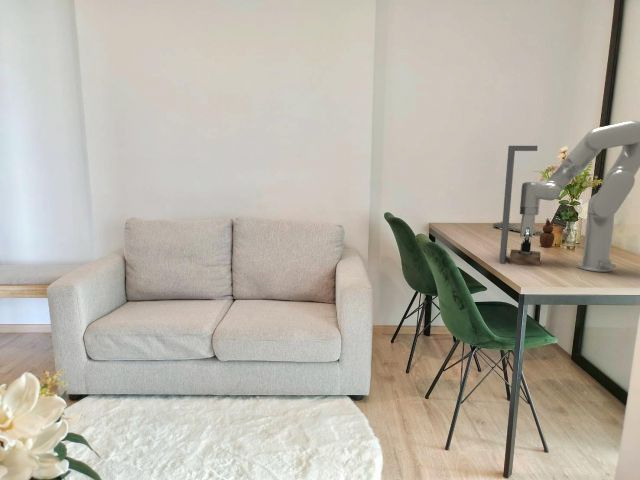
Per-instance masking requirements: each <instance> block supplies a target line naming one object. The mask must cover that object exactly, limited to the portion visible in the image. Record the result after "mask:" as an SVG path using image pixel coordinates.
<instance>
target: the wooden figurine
mask: <svg viewBox="0 0 640 480" xmlns="http://www.w3.org/2000/svg"><path fill="white" fill-rule="evenodd" d="M545 220H546V221H545V225H543V227H542V234H541V235H539V244H540V246H541V247H543V248H551V247H552V246H553V245H554V242H555V234H554V233H553V231H554V226H553V225H551V221H550V219H549V218H546V219H545Z"/></svg>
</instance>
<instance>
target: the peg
mask: <svg viewBox="0 0 640 480" xmlns="http://www.w3.org/2000/svg"><path fill="white" fill-rule="evenodd" d="M522 243H523V242H522ZM522 243H521V244H520V250H521V251H520V254H530V252H522ZM531 249H532V244H531V245H530V251H532V250H531Z"/></svg>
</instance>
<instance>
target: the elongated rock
mask: <svg viewBox="0 0 640 480" xmlns="http://www.w3.org/2000/svg"><path fill="white" fill-rule="evenodd" d="M502 222H503V221H500V222H496V223H495V222H494V223H493V224H492V226H493V227H494V228H495V227H497V228H496V229H498V228H502ZM529 229H530V228H529ZM508 230H513V231H512V232H516V231H518V232H517V233H520V231H521V225H519V224H516V223H510V222H509V228H508ZM542 233H543V231H541V230H539V229H535V228H534V231H533V234H536V235H535V236H540V235H541V234H542Z"/></svg>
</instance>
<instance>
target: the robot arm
mask: <svg viewBox="0 0 640 480" xmlns="http://www.w3.org/2000/svg"><path fill="white" fill-rule="evenodd" d="M621 146H622V148H621V151H620V153H619V155H618V156H617V159H616V160H615V162H614V163H613V165H612V167H611V168H610V170H609V171H608V172H607V173H606V174H605V176H604V180H603V181H604V182H603V183H602V184H601V186H600V187H599V189H598V190H597V193H595V194H593V195H592V196H591V197H589V200H588V203H587V204H588V205H587V216H586V224H585V225H586V226H585V235H584V244H583V251H582V252H583V253H582V262H578V264H577V267H578V268H579V269H581V270H584V271H589V272H598V273H607V272H608V273H609V272H612V271H613V270H614V268H617V267H616V264H614V263H612V260H611V259H610V257H611V246H612V238H613V231H614V224H615V222H614V221H615V214H616V213H617V212H618V211H619V209H620V208H621V207H622V205H623V203H624V202H625V200H627V199H626V198H627V197H628V196H629V194H630V193H631V191H632V189H633V188H634V185H635V181H636V178H635V176H636V174H637V172H638V171H639V169H640V121H638V120H628V121H626V122H620V123H616V124H611V125H605V126H599V127H595V128H592V129H591V130H589V131H588V132H587V133H586V134H585V135H584V136H583V138H582V139H580V141H579V142H578V143H577V144H576V145H575V147H574V148H573V149H572V150H571V151H570V152H569V154H567V156H565V158H564V160H563V161H562V162H561V164H560V165H559V167H558V168H556V170H555V171H554V173H553V174H552V175H551V176H550V177H549V178H548V179H547V180H546V181H545V182H544V183H542V182H541V183H540V182H535V181H526V182H523V183H522V184H521V191H520V192H521V194H520V203H519V204H520V207H519V215H521V220H520V221H521V222H520V226H521V231H520V232H519V233H520V234H519V237H520V238H522V237H523V238H522V252H530V251H531V250H530V245H531V246H532V244H531V243H532V242H531V241H532V240H531V238H533V236H534V235H533V231H534V229H535V221H536V216H539V212H540V202H541V201H540V200H544V201H555V200H557V199H558V198H559V197H560V196H561V193H562V192H563V190H564V189H565V188H566V187H567V186H568V185H569V184H570V183H571V181H573V179H575V178H576V177H577V176H578V175H580V174H581V173H583V171H584V170H585V169H586V168H587V167H588V166H589V165H590V163H591V162H593V161H594V159H595V158H596V157H597V156H598V155H599V154H600V153H601V152H602V150H605V149H606V150H607V149H611V148H618V147H621ZM529 228H530V229H529Z"/></svg>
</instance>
